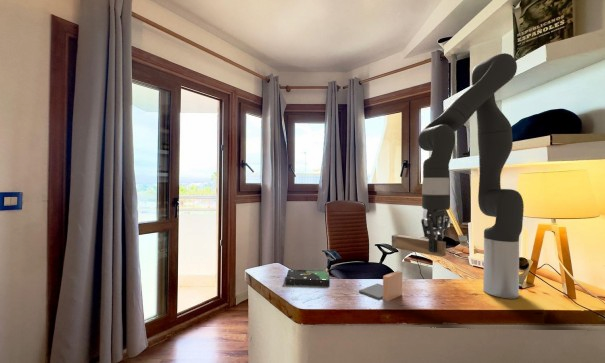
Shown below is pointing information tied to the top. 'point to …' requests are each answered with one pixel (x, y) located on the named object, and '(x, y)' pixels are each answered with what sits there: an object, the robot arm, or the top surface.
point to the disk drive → (307, 278)
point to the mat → (373, 291)
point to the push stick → (417, 245)
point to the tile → (392, 285)
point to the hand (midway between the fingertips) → (435, 251)
